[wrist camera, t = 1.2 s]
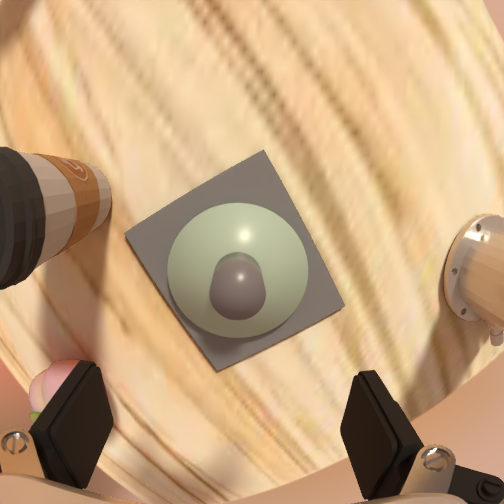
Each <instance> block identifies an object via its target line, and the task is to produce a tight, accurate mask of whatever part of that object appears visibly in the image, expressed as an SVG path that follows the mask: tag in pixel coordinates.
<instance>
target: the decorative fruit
mask: <svg viewBox="0 0 504 504" xmlns="http://www.w3.org/2000/svg"><path fill="white" fill-rule="evenodd" d="M78 362H79V360H74V359H64V360H59V361H56V362H54V363H53V364H51V365H50V366H49V367H48V369H46V370H44V371H42V372H41V373H39V374H38V375H37V376H36V377H35V378H34V379H33V380H32V382H31V385H30V388H29V401H30V405H31V407H32V409H33V412H31V413H30V419H31V421H32V422H33V423H34V422H35V421H36V419H37V418H38V416H39V415H40V414H41V412H42V411H43V409H44V408H45V407H46V405H47V404H48V402H49V401H50V400H51V398H52V397H53V395H54V394H55V393H56V391H57V390H58V389H59V387H60V386H61V385H62V383H63V382H64V380H65V379H66V378H67V376H68V375H69V374H70V372H71V371H72V370H73V369H74V367H75V366H76V365H77V363H78ZM104 387H105V386H104ZM105 390H106V389H105ZM106 394H107V393H106ZM107 398H108V397H107Z"/></svg>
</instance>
